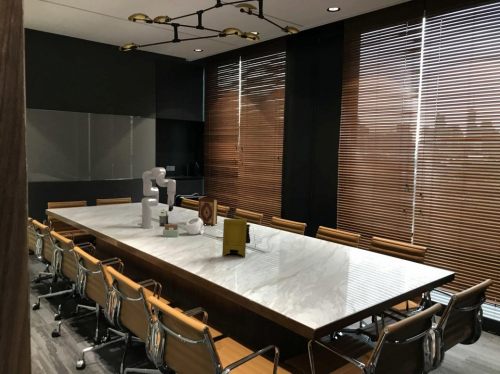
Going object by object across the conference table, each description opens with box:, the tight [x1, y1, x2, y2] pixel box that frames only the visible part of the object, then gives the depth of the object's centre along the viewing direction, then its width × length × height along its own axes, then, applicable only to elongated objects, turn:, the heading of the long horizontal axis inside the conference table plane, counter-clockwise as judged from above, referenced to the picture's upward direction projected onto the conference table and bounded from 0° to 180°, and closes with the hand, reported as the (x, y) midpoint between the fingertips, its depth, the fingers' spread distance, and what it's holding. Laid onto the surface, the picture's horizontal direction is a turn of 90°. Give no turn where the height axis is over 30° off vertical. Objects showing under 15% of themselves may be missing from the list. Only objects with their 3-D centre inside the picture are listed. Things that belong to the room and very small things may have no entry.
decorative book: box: [197, 197, 219, 226], centre depth 437 cm, size 22×8×30 cm, turn 62°
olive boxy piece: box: [216, 218, 256, 258], centre depth 307 cm, size 31×14×30 cm, turn 92°
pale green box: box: [162, 228, 180, 238], centre depth 369 cm, size 14×10×7 cm
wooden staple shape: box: [163, 223, 179, 230], centre depth 367 cm, size 12×5×5 cm, turn 95°
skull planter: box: [184, 216, 205, 236], centre depth 383 cm, size 14×20×19 cm
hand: (170, 210), depth 368 cm, fingers open, 9 cm apart
